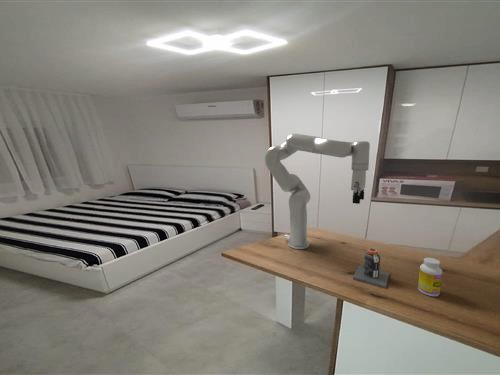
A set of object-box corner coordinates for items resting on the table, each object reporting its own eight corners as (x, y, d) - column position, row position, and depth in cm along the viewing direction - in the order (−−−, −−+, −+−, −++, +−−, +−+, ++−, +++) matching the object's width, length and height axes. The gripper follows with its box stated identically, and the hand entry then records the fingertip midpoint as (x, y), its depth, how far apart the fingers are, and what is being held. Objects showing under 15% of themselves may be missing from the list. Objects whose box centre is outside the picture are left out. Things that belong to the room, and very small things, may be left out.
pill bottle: (381, 278, 95) (382, 253, 93) (365, 277, 96) (367, 252, 94) (376, 271, 100) (377, 247, 99) (361, 270, 102) (363, 246, 100)
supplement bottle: (432, 299, 83) (436, 266, 81) (413, 289, 89) (416, 258, 87) (443, 294, 85) (447, 262, 83) (424, 284, 91) (427, 254, 89)
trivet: (353, 279, 97) (353, 277, 97) (359, 266, 106) (359, 264, 106) (385, 288, 90) (385, 286, 90) (389, 274, 99) (389, 272, 99)
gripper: (355, 165, 120) (354, 197, 123) (347, 168, 107) (346, 204, 110) (371, 165, 116) (369, 198, 119) (365, 169, 102) (363, 206, 105)
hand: (358, 201), depth 114 cm, fingers open, 9 cm apart
